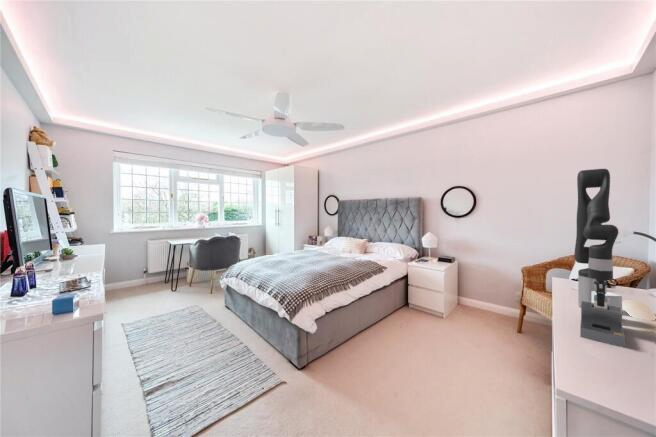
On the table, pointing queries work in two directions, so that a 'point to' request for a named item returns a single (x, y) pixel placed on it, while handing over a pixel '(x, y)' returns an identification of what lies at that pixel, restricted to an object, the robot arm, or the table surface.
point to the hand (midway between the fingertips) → (600, 303)
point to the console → (602, 324)
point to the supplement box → (614, 299)
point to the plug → (606, 301)
